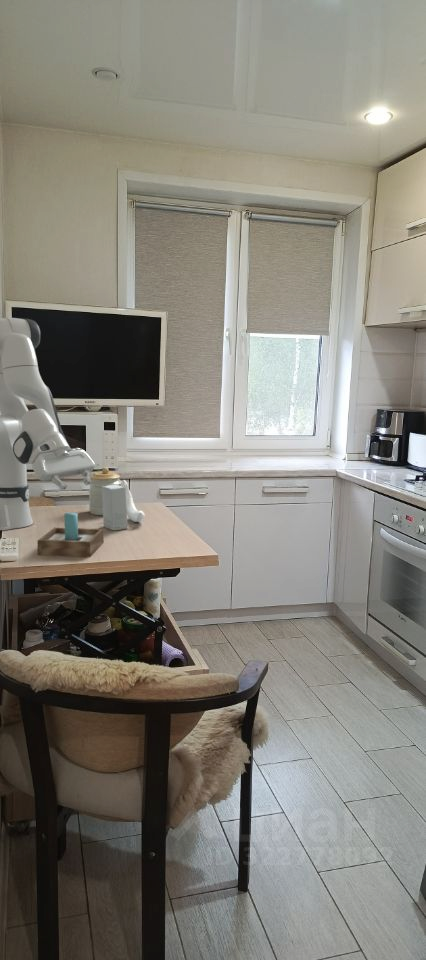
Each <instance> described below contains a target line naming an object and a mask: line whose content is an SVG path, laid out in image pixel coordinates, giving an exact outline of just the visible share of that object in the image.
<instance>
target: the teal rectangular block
mask: <svg viewBox="0 0 426 960" xmlns="http://www.w3.org/2000/svg"><path fill="white" fill-rule="evenodd" d="M63 516H64V521H63V522H64V528H65V540H68V541H78V528H79V519H78V516H79V515H78V513H77V512H65V513H64V515H63Z"/></svg>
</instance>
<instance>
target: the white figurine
mask: <svg viewBox="0 0 426 960" xmlns="http://www.w3.org/2000/svg"><path fill="white" fill-rule="evenodd" d="M122 482H123V487H126V488H125V490H126V509H127V518H129V519H130V520H131V521H132V522H134V523H141V522H142V521H144V519H145V517H146V515H145V512H144V511H143V510H138V509H137V508H136V506H135V502H134V499H133V495H132V492H131V491H130V489H129V484H128V482H127V481H126V480H125V479H123V480H122Z"/></svg>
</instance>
